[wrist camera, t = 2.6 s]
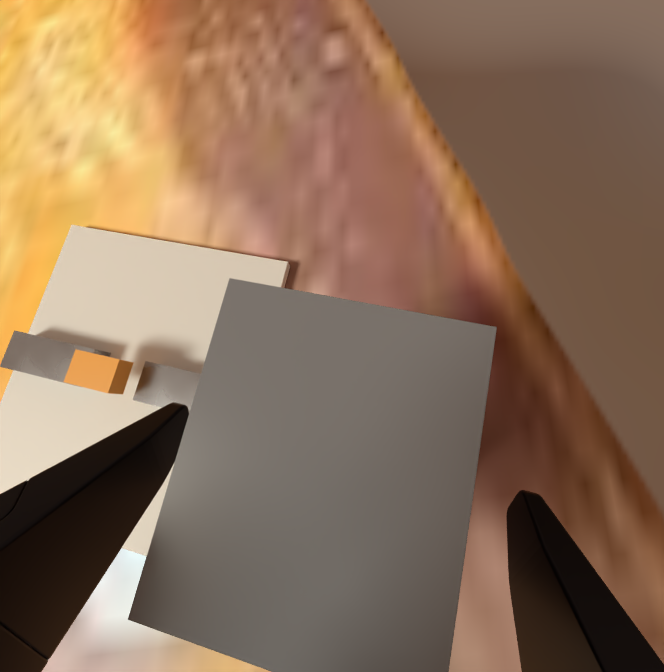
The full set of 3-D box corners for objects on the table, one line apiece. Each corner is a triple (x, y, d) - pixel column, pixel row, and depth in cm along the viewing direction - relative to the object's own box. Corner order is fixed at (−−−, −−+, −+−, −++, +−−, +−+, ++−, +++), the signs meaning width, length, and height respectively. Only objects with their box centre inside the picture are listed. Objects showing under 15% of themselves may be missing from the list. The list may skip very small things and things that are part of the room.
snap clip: (122, 394, 17) (107, 393, 16) (80, 383, 17) (63, 382, 16) (133, 362, 17) (119, 359, 16) (91, 352, 18) (75, 349, 17)
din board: (210, 569, 17) (204, 574, 16) (-25, 493, 19) (-37, 496, 18) (290, 266, 20) (287, 261, 19) (79, 229, 22) (71, 224, 21)
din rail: (235, 422, 18) (225, 423, 16) (22, 369, 20) (-1, 366, 18) (245, 383, 18) (236, 382, 17) (35, 335, 20) (14, 330, 19)
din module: (390, 505, 17) (439, 732, 5) (291, 478, 17) (127, 619, 6) (413, 378, 18) (498, 315, 6) (319, 358, 18) (232, 268, 7)
